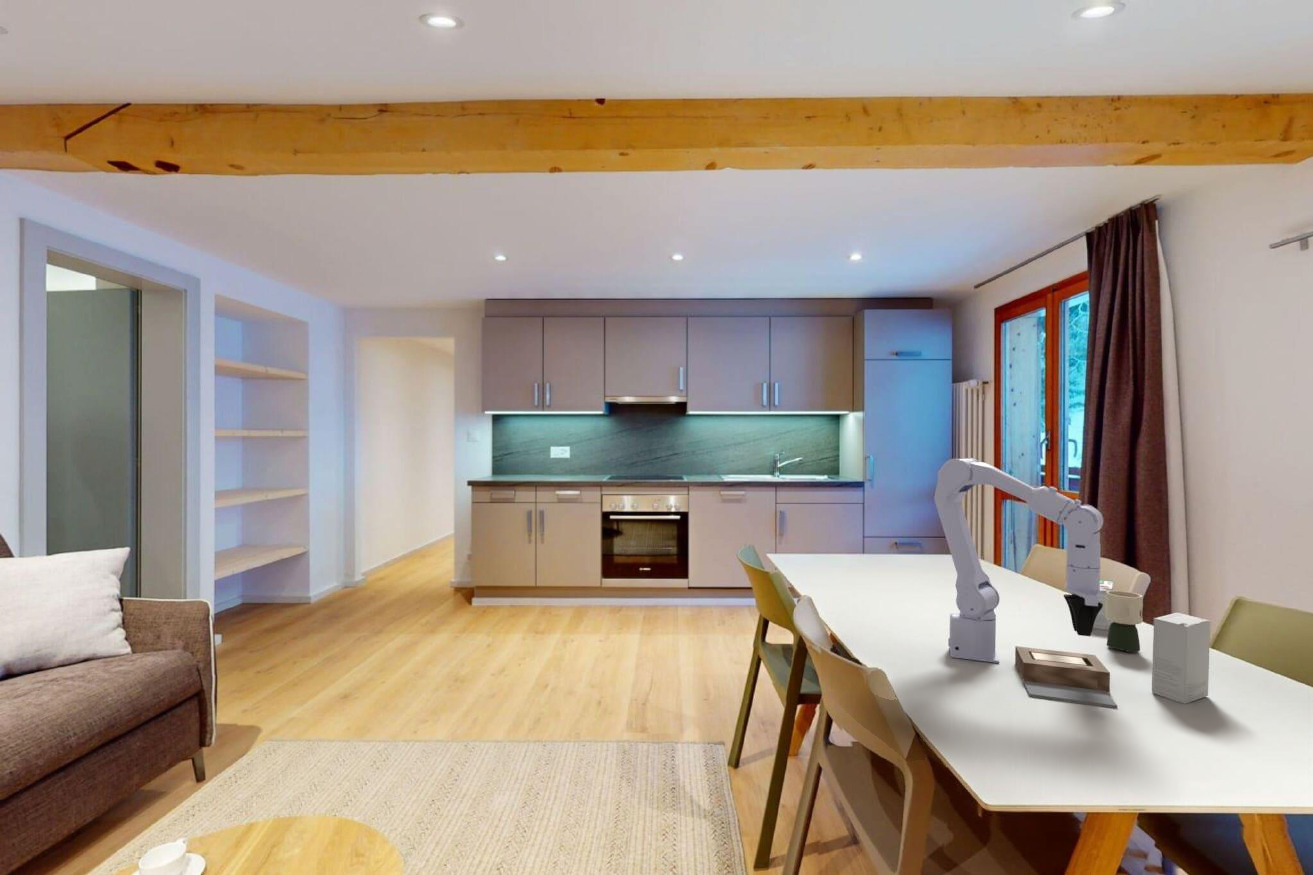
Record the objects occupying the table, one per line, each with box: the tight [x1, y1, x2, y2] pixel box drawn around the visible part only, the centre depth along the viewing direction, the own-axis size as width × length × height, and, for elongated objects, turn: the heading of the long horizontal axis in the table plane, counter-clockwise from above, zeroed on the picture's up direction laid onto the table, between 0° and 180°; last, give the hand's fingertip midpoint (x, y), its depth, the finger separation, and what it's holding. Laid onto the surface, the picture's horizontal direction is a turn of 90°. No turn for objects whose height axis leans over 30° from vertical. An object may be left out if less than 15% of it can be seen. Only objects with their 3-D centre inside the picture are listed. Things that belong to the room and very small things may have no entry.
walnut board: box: [1014, 645, 1111, 693], centre depth 134 cm, size 15×11×4 cm
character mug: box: [1105, 590, 1144, 653], centre depth 152 cm, size 11×7×13 cm, turn 162°
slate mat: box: [1022, 680, 1118, 709], centre depth 125 cm, size 14×7×1 cm, turn 69°
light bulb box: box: [1093, 580, 1114, 631], centre depth 174 cm, size 11×7×11 cm, turn 144°
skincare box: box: [1151, 612, 1211, 705], centre depth 125 cm, size 8×6×15 cm
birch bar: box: [1031, 652, 1087, 666], centre depth 134 cm, size 9×4×2 cm, turn 69°
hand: (1082, 633), depth 133 cm, fingers open, 2 cm apart
